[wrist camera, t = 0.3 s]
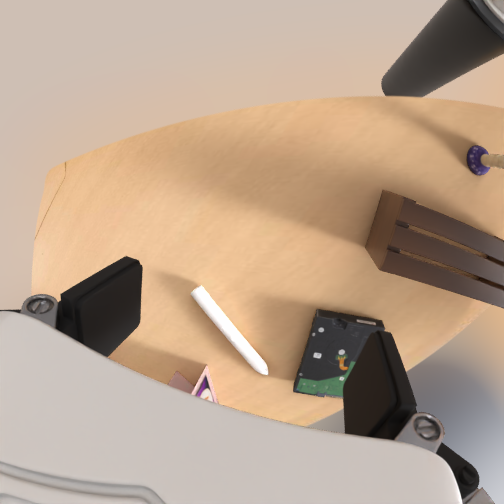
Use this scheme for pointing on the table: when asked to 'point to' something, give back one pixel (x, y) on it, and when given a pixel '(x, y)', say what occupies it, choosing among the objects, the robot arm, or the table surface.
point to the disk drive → (332, 352)
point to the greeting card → (202, 387)
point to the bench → (436, 250)
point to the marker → (229, 330)
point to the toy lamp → (483, 160)
